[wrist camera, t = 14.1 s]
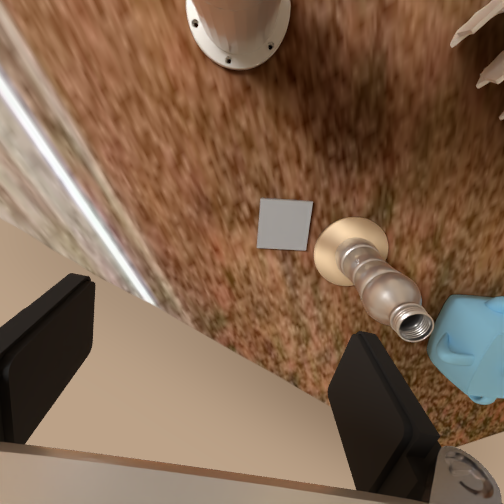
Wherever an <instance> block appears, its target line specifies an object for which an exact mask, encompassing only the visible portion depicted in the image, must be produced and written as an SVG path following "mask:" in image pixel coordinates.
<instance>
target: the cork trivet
mask: <svg viewBox="0 0 504 504" xmlns="http://www.w3.org/2000/svg"><path fill="white" fill-rule="evenodd" d="M354 237H358V238H363V239H366V240H368V241H370V242H371V243H373V244H374V245H375V247H376V248H377V250H378V251H379V253H380V255H381V256H382V258H383V259H384V260H385V261H386V258H387V255H388V241H387V237H386V235H385V233H384V231H383V230H382V229H381V228H380V227H379V226H378V225H377V224H375V223H374V222H372V221H371V220H369V219H366V218H362V217H347V218H343V219H340V220H338V221H336V222H334V223H332V224H330V225H329V226H328V227H327V228H326V229H325V230H324V231H323V232H322V233H321V234H320V236H319V237H318V239H317V241H316V244H315V247H314V262H315V265H316V267H317V269H318V271H319V273H320V274H321V275H322V276H323V277H324V278H325V279H326V280H327V281H329V282H331V283H333V284H336V285H341V286H353V285H354V284H353V283H352V282H351V281H350V280H349V278H347V277H346V276H345V275H343V274H342V273H341V272H340V270H339V269H338V267H337V264H336V260H335V253H336V250H337V248H338V247H339V245H340V244H341V243H342V242H344V241H345V240H347V239H350V238H354Z"/></svg>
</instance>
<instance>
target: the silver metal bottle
mask: <svg viewBox="0 0 504 504" xmlns="http://www.w3.org/2000/svg"><path fill="white" fill-rule="evenodd" d="M335 260H336V264H337V267H338V269H339V270H340V272H341V273H342V274H343V275H345V276H346V277H347V278H349V280H350V281H351V282H352V283H353V284H354V285H355V287H356V289H357V291H358V293H359V295H360V298H361V300H362V303H363V305H364V308H365V310H366V312H367V313H368V314H369V315H370V316H371V317H372V318H373V319H375V320H376V321H378V322H380V323H382V324H385V325H389V326H391V327H392V329H393V330H394V331H395V332H397V334H398V335H399V336H400V337H401V338H402V339H403V340H405V341H408V342H419V341H422V340H424V339H426V338H427V337H428V336H429V335H430V334H431V333H432V331H433V329H434V321H433V319H432V317H431V316H430V315H429V314H428V313H427V311H426V310H425V309H424V308H423V307H422V306H421V305H422V296H421V293H420V291H419V288H418V286H417V285H416V283H415V282H414V281H413V280H411V279H410V278H409V277H407V276H406V275H404V274H402V273H400V272H399V271H397V270H395V269H394V268H393V267H391V266H390V265H389V264H388V263H387V262H385V260H384V259H383V258H382V256H381V255H380V253H379V251H378V250H377V248H376V247H375V245H374V244H373V243H371V242H370V241H368V240H366V239H363V238H358V237H354V238H350V239H347V240H345V241H344V242H342V243H341V244H340V245H339V247H338V248H337V250H336V253H335Z"/></svg>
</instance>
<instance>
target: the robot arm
mask: <svg viewBox="0 0 504 504" xmlns="http://www.w3.org/2000/svg"><path fill="white" fill-rule="evenodd" d="M290 9H291V3H290V0H186V12H187V19H188V23H189V27H190V30H191V32H192V34H193V37H194V39H195V41H196V42H197V44H198V46H199V47H200V48H201V50H202V51H203V52H204V54H205V55H206V56H207V57H209V58H210V59H211V60H212V61H213V62H215V63H216V64H218V65H220V66H222V67H225V68H228V69H231V70H248V69H251V68H254V67H257V66H259V65H261V64H262V63H264V62H266V61H267V60H268V59H269V58H270V57H271V56H272V55H273V54H274V53H275V51H276V50H277V49H278V48H279V46H280V44H281V42H282V40H283V38H284V36H285V33H286V31H287V27H288V23H289V19H290ZM195 24H198V27H197V28H195V27H194V25H195ZM269 46H272V49H271V50H270V49H269V48H268V47H269ZM228 60H231V63H230V64H228V63H227V61H228ZM94 300H95V283H94V282H91V279H90V277H89V276H83V275H78V274H73V273H70V274H68V275H67V276H66V277H65V278H63V279H62V280H61V281H60V282H58V283H57V284H56V285H55V286H53V287H52V288H51V289H50V290H48V291H47V292H46V293H45V294H43V295H42V296H41V297H40V298H38V299H37V300H36V301H34V302H33V303H32V304H31V305H29V306H28V307H26V308H25V309H23V310H22V311H21V312H19V313H18V314H17V315H16V316H14V317H13V318H12V319H10V320H9V321H8V322H7V323H6V324H4V325H3V326H2V327H0V504H502V502H501V494H500V489H499V487H498V485H497V483H496V482H495V480H494V478H493V477H492V476H491V474H490V473H489V472H488V470H487V469H486V468H484V466H483V465H482V464H481V463H479V461H477V460H476V459H475V458H473V457H472V456H471V455H470V454H467V453H466V452H464V451H463V450H461V449H458V448H455V447H453V446H444V447H441V446H440V444H439V443H438V441H437V440H438V439H439V438H440V435H439V433H438V432H437V430H436V429H435V427H434V426H433V424H432V422H431V421H430V419H429V418H428V416H427V415H426V413H425V411H424V410H423V408H422V407H421V405H420V403H419V402H418V400H417V399H416V397H415V396H414V394H413V392H412V391H411V389H410V388H409V386H408V384H407V383H406V381H405V380H404V378H403V377H402V375H401V373H400V372H399V370H398V369H397V367H396V365H395V364H394V362H393V361H392V359H391V358H390V356H389V354H388V353H387V351H386V350H385V348H384V347H383V345H382V343H381V342H380V340H379V339H378V337H377V336H376V335H375V334H372V333H367V332H362V331H358V332H357V333H356V334H353V335H352V336H351V338H350V340H349V343H348V345H347V347H346V349H345V352H344V354H343V356H342V358H341V360H340V363H339V365H338V367H337V369H336V371H335V374H334V376H333V378H332V380H331V382H330V385H329V387H328V398H329V401H330V404H331V408H332V411H333V414H334V418H335V421H336V424H337V427H338V431H339V434H340V437H341V440H342V444H343V447H344V451H345V454H346V457H347V460H348V464H349V467H350V470H351V473H352V477H353V480H354V483H355V487H356V490H351V489H344V488H337V487H330V486H324V485H317V484H310V483H303V482H297V481H289V480H283V479H276V478H269V477H262V476H255V475H247V474H241V473H234V472H227V471H220V470H213V469H206V468H199V467H192V466H185V465H177V464H171V463H163V462H155V461H149V460H141V459H134V458H127V457H119V456H112V455H104V454H97V453H89V452H82V451H75V450H67V449H58V448H50V447H41V446H33V445H24V444H25V443H26V442H27V440H28V439H29V437H30V436H31V435H32V433H33V432H34V430H35V429H36V428H37V426H38V425H39V423H40V422H41V421H42V419H43V418H44V416H45V415H46V414H47V412H48V411H49V410H50V408H51V407H52V405H53V404H54V402H55V401H56V400H57V398H58V397H59V396H60V394H61V393H62V391H63V390H64V388H65V387H66V385H67V384H68V383H69V382H70V380H71V379H72V377H73V376H74V375H75V373H76V372H77V370H78V369H79V368H80V366H81V365H82V363H83V362H84V361H85V359H86V358H87V356H88V355H89V353H90V351H91V348H92V341H93V322H94Z"/></svg>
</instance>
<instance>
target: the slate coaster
mask: <svg viewBox="0 0 504 504" xmlns="http://www.w3.org/2000/svg"><path fill="white" fill-rule="evenodd" d="M312 205H313V201H304V200H288V199H272V198H260V211H259V224H258V237H257V248H269V249H287V250H305V251H306V247H307V240H308V233H309V226H310V219H311V212H312Z"/></svg>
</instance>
